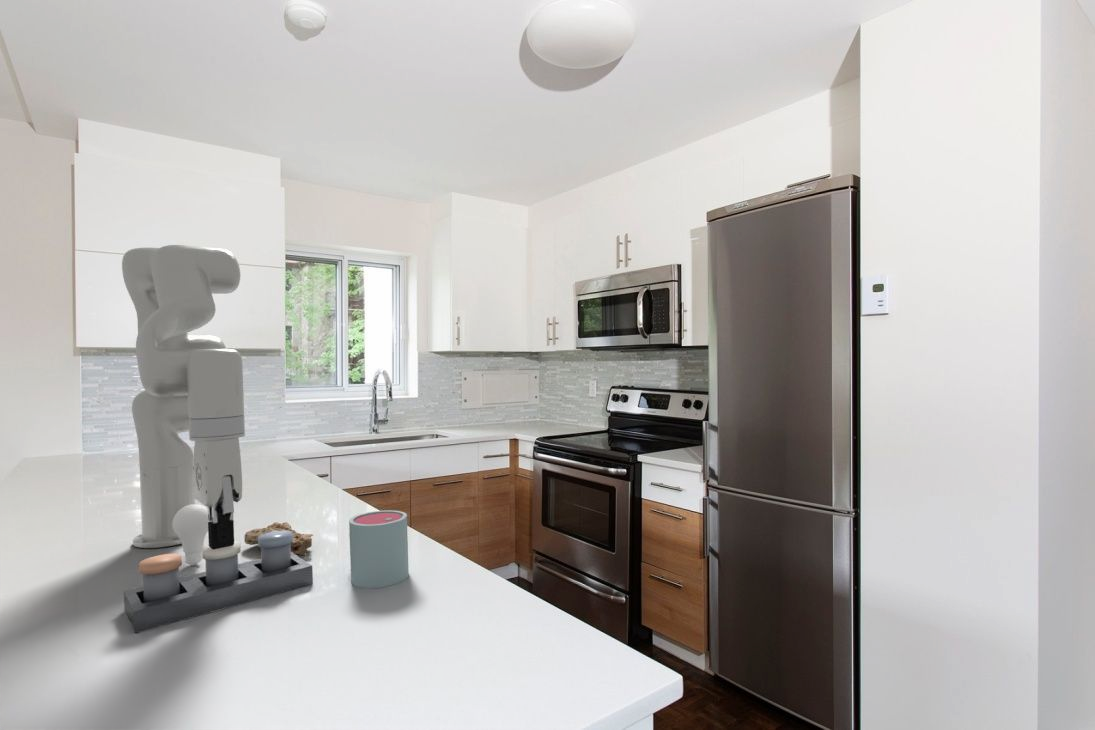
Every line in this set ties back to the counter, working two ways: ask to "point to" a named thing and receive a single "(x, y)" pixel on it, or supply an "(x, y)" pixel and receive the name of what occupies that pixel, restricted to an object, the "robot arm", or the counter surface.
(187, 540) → the lightbulb
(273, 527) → the rock
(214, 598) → the key panel
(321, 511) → the counter surface
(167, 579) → the terracotta key
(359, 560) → the mug
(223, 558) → the cream key
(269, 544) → the light blue cylinder
